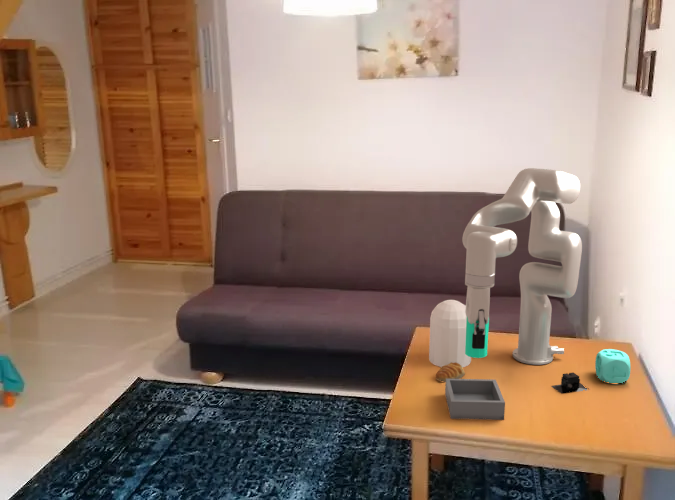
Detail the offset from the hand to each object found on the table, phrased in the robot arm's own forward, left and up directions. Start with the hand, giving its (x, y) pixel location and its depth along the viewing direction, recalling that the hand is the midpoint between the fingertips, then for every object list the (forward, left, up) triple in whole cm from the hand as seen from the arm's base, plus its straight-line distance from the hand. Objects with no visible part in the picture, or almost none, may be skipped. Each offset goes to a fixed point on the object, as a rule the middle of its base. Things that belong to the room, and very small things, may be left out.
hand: (476, 343), depth 178 cm
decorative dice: (-44, -20, -19) cm, 52 cm away
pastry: (+4, -19, -19) cm, 27 cm away
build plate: (-30, -13, -19) cm, 38 cm away
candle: (0, 0, -3) cm, 3 cm away
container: (+3, -32, -19) cm, 37 cm away
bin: (0, 0, -19) cm, 19 cm away
